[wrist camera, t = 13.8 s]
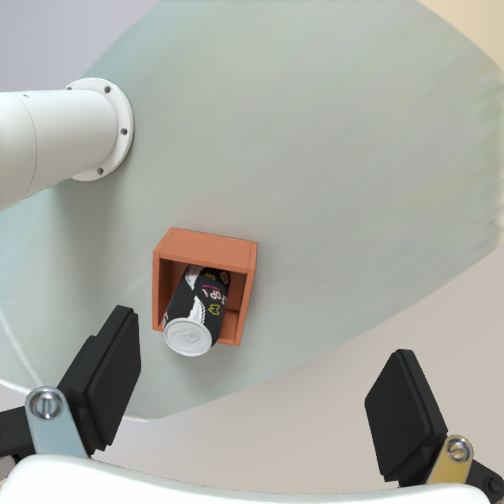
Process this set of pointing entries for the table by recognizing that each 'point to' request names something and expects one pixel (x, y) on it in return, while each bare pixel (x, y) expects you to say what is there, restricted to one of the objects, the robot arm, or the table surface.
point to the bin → (210, 255)
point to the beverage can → (196, 310)
